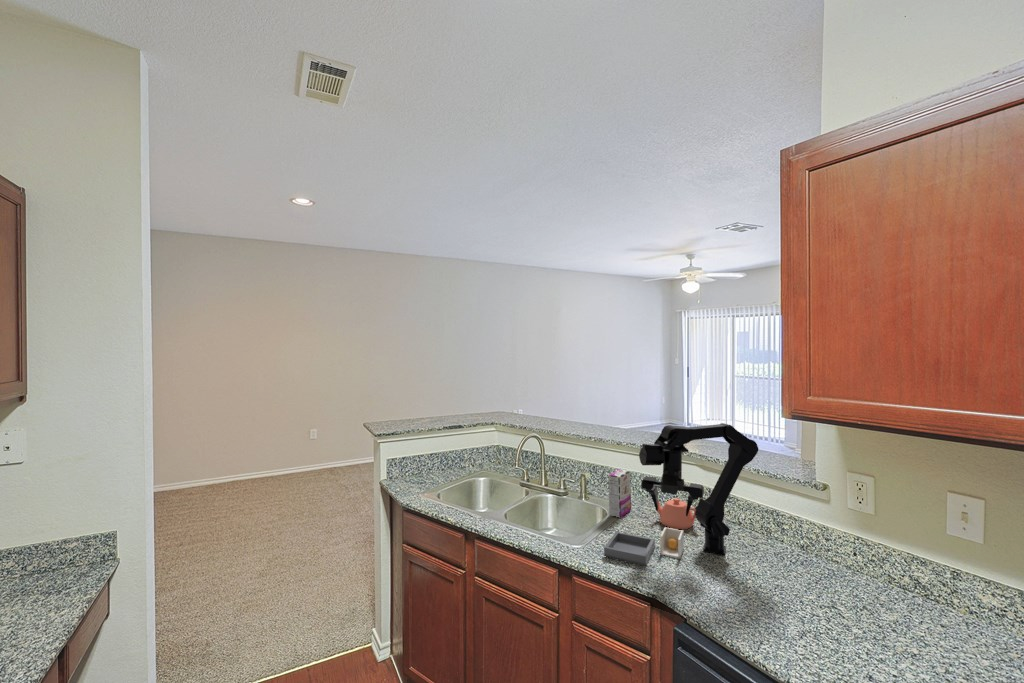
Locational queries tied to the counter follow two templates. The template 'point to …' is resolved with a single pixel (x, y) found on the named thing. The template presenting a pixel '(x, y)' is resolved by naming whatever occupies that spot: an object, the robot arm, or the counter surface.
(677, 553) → the white open holder
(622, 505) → the candy bar box
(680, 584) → the counter surface
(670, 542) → the ball
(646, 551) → the tray
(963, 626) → the counter surface
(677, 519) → the teapot
